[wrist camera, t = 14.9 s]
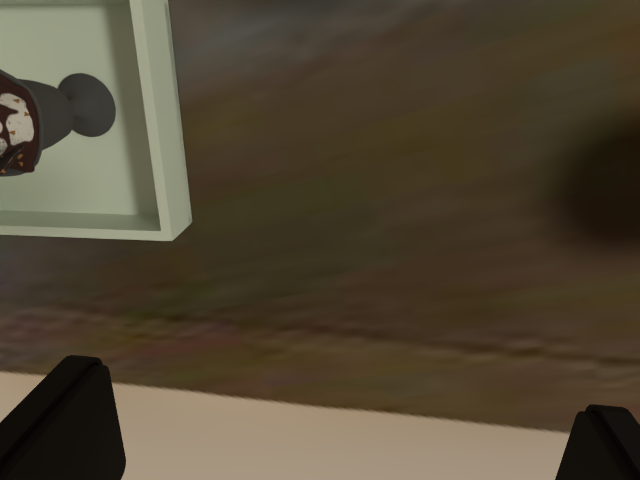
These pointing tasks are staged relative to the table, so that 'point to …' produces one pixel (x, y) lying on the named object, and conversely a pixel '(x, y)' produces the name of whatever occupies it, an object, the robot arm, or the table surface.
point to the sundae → (48, 117)
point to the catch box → (123, 137)
